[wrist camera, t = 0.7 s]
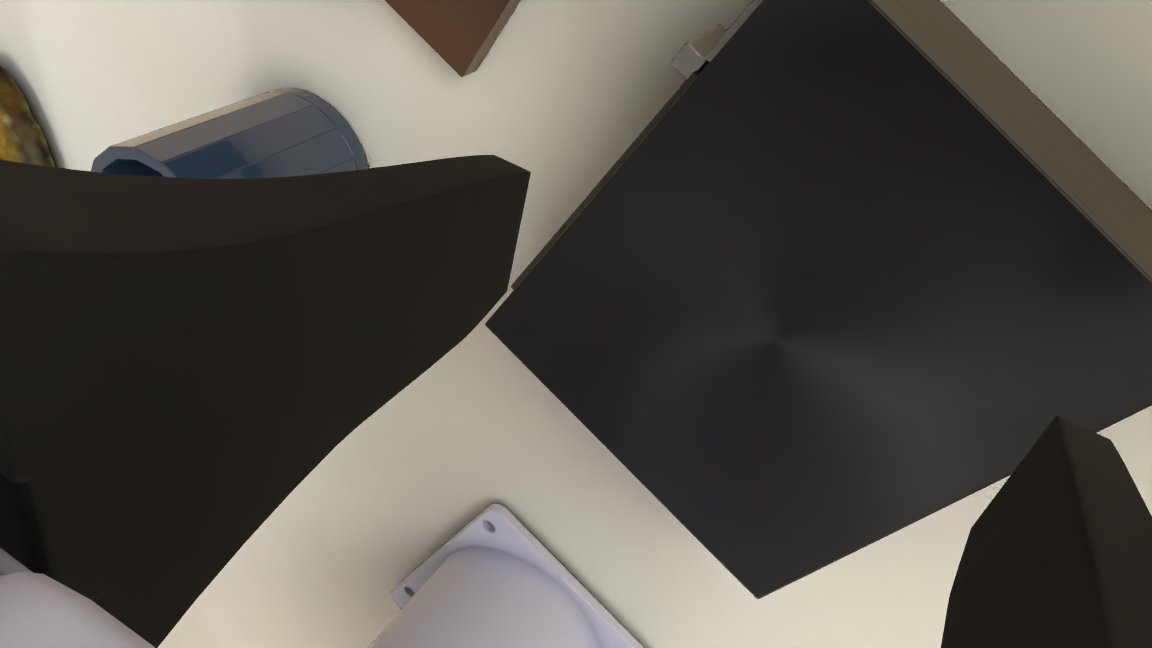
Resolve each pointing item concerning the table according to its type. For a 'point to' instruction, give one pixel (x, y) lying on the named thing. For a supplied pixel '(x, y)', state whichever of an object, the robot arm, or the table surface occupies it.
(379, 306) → the robot arm
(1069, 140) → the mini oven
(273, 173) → the cup
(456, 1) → the control pad
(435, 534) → the table surface
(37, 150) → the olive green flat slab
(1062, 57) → the table surface
